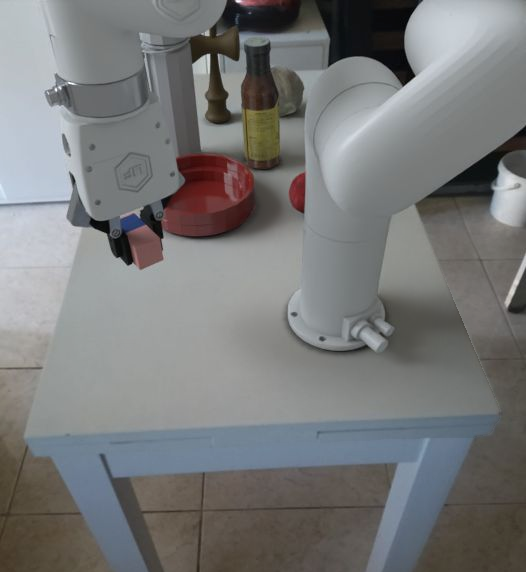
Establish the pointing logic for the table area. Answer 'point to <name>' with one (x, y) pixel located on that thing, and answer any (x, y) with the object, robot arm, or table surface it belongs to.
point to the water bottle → (174, 88)
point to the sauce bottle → (260, 106)
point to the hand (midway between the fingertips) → (139, 250)
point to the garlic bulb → (288, 89)
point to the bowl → (210, 196)
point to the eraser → (141, 241)
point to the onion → (298, 192)
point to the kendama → (216, 68)
